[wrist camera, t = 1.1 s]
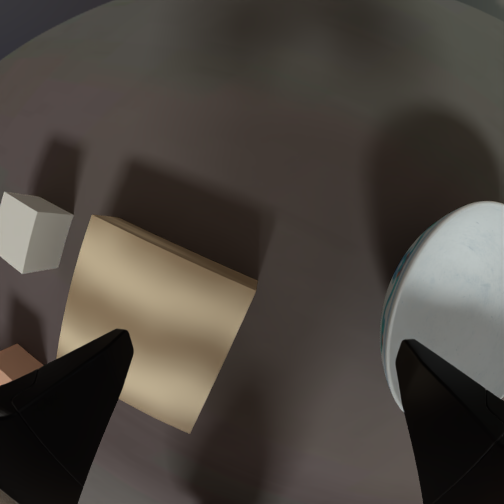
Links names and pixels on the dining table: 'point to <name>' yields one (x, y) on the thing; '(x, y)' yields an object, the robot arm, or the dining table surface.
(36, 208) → the grey cube
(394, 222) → the dining table surface
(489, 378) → the chinaware
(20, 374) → the terracotta cube
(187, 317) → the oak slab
